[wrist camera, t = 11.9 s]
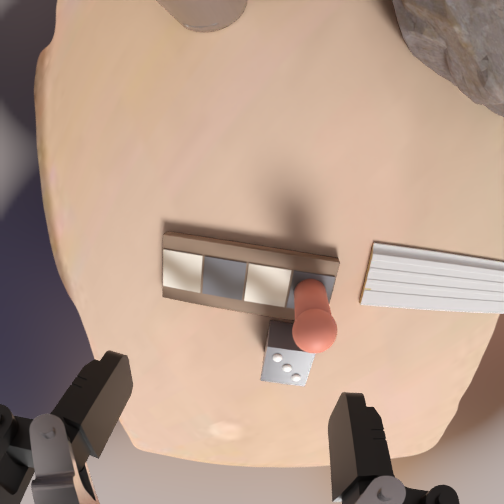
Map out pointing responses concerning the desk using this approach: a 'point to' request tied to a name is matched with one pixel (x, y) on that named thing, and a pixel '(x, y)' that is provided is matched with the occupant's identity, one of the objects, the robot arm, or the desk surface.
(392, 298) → the baseboard
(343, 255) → the desk surface
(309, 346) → the pawn
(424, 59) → the stone
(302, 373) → the die
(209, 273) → the game strip
